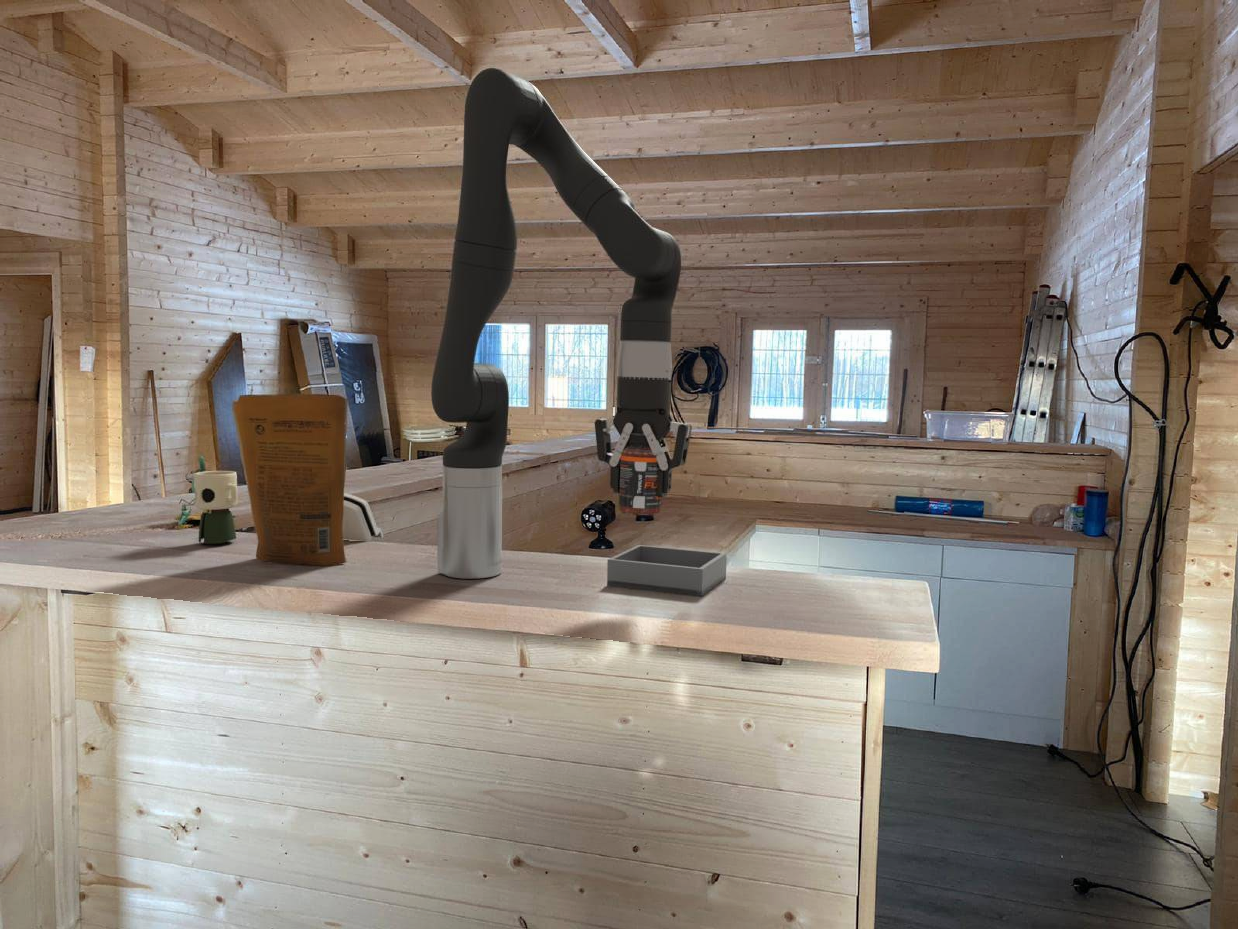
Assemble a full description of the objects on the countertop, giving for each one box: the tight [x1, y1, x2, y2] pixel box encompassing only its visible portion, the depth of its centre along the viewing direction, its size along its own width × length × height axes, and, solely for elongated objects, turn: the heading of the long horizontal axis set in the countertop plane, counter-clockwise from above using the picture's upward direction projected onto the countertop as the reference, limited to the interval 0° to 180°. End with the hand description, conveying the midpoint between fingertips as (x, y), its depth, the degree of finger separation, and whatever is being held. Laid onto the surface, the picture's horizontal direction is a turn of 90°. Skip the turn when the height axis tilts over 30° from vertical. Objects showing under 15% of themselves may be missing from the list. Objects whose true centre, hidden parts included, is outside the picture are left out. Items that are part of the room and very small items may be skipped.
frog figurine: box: [173, 456, 219, 530], centre depth 183 cm, size 10×18×15 cm, turn 160°
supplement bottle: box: [618, 433, 662, 516], centre depth 124 cm, size 6×6×11 cm
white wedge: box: [342, 492, 384, 542], centre depth 169 cm, size 17×5×10 cm, turn 69°
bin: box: [606, 544, 728, 597], centre depth 137 cm, size 15×13×4 cm
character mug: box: [193, 470, 238, 545], centre depth 160 cm, size 11×7×13 cm, turn 60°
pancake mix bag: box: [231, 393, 349, 567], centre depth 145 cm, size 7×19×28 cm, turn 79°
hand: (640, 494), depth 124 cm, fingers closed on supplement bottle, 6 cm apart
